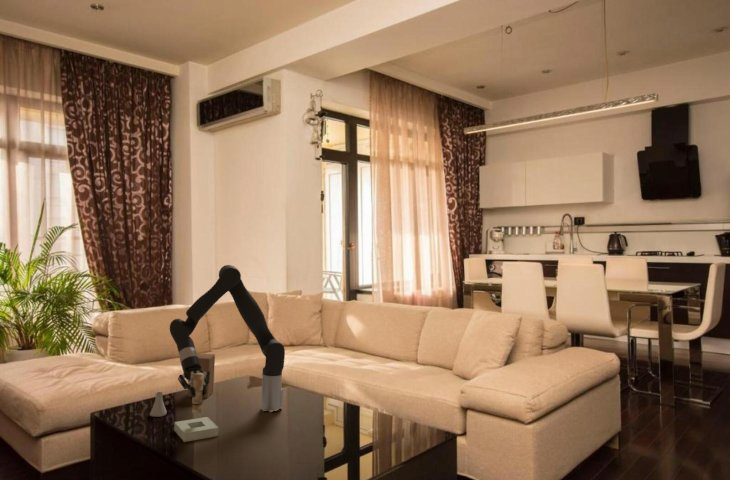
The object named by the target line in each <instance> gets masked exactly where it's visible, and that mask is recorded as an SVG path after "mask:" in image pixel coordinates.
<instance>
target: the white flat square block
mask: <svg viewBox="0 0 730 480" xmlns="http://www.w3.org/2000/svg"><path fill="white" fill-rule="evenodd" d="M173 428H174V429H173V430H174V432H175V433H176V434H177V436H178V437H179V438H180V440H182V441H183V443H186V442H191V441H196V440H197V441H198V440H203V439H208V438H213V437H219V429H220V427H219V426H218V425H216V423H214V422H213V421H212V420H211V419H210V418H209V417H208V416H205V417H198V418H192V419H185V420H180V421H174V427H173Z"/></svg>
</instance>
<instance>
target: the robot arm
mask: <svg viewBox="0 0 730 480" xmlns="http://www.w3.org/2000/svg"><path fill="white" fill-rule="evenodd" d="M226 293H230V295H231V297H232V300H233V301H234V305H235V306H236V308H237V311H238V312H239V314H240V316H241V318H242V320H243V321H244V323H245V324H246V326H247V327H248V329H249V330H250V332H251V333H252V334H253V336H254V337H255V339H256V342H257V343H258V345H259V348H260V350H261V352H262V355H264V357H265V361H264V363H265V364H264V367H262V376H261V377H262V378H261V381H262V382H261V399H260V400H261V401H260V410H261V409H262V410H266V411H270V410H275V409H278V408H280V407H282V408H283V397H284V396H283V395H284V390H283V389H282V385H283V383H282V378H283V370H284V367H285V358H286V357H285V354H286V353H285V351H286V350H285V349H286V348H285V347H284V345H283V344H282V342H280V341H278V340H277V339H276V337H275V336H274V335H273V333H272V332H271V330H270V329H269V327H268V325H267V321H266V318H265V315H264V313H263V310H262V309H261V307H260V306H259V304H258V302H257V301H256V300H255V298H254V297H253V296H252V294H251V293H250V291H248V289H247V287H246V286H245V285H244V282H243V280H242V276H241V271H240V270H239V269H238V268H237V267H236V266H234V265H231V264H226V265H223V266H221V268H220V269H219V271H218V279H217V281H216V282H215V283H214V284H213V286H212V287H210V289H209V290H207V291H206V292H204V294H202V295H201V296H200V297H199V298H198V299H196V300H195V302H193V303H192V304H191V305H190V307H189V308H187V310H186V312H185V314H186V316H187V317H186V319H185V320H183V319H182V318H175V319H173V320H172V321H171V322H170V324H169V332H170V333H169V334H170V335H171V337H172V339H173V341H174V342H175V344H176V347H177V351H178V355H179V362H180V365H181V368H182V371H183V374H179V375H178V377H177V381H178V382H179V383H180V385H181V386H182V388H183V390H188V389H189V391H190V395H191V396H192V397H195V396H196V394H195V390H194V387H193V378H194V374H195V373H203V374H204V377H205V382H204V379H203V396H205V395H206V393H207V389H206V386H207V385H208V384H209V379H210V372H209V371H207V372H203V370H202V369H201V364H200V361H199V357H198V354H197V353H198V352H197V349H196V345H195V343H194V340H193V338H192V337H191V335H192V333H193V332H194V330H195V329H196V327H197V325H198V324H199V322H200V321H201V319H202V318H203V317H204V316H205V315H206V314H207V312H208V311H209V310H211V308H212V307H213V306H214V305H215V304H216V303H217V302H218V301H219V300H220V299H221V298H222V297H223V296H225V294H226ZM192 397H191V398H192ZM262 410H261V411H262Z"/></svg>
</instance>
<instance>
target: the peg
mask: <svg viewBox="0 0 730 480" xmlns="http://www.w3.org/2000/svg"><path fill="white" fill-rule="evenodd" d="M203 377H204V374H203V373H195V374H194V378H193V387H194V390H195V394H196V396H195V397H191V398H192V400H191V406H192V410H191V411H192V414H200V413H202V404H203V398H202V395H203Z"/></svg>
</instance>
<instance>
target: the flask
mask: <svg viewBox="0 0 730 480" xmlns="http://www.w3.org/2000/svg"><path fill="white" fill-rule="evenodd" d="M163 394H164V392H163V391H157V392H155V399H154V402H153V406H152V408H151V411H150V412H149V416H150V417H153V418H155V417H156V418H157V417H158V418H159V417H160V418H161V417H164V416H166V415H167V413H168V411H167V409H166V407H165V403H164V401H163V400H164V399H163Z"/></svg>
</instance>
